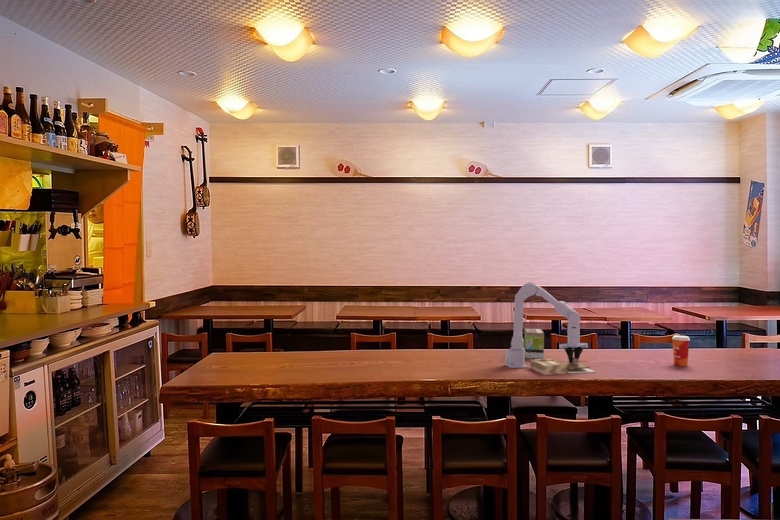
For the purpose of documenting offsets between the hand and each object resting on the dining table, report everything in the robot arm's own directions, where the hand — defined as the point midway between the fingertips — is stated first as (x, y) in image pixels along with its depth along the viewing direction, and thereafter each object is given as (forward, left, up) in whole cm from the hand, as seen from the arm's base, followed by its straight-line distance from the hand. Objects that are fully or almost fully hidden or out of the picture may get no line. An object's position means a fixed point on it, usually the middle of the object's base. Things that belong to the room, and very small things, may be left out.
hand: (573, 362), depth 251 cm
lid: (0, 0, -2) cm, 2 cm away
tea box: (-5, +34, -4) cm, 35 cm away
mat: (0, 0, -4) cm, 4 cm away
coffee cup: (+60, -1, -4) cm, 61 cm away
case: (-14, 0, -4) cm, 14 cm away
